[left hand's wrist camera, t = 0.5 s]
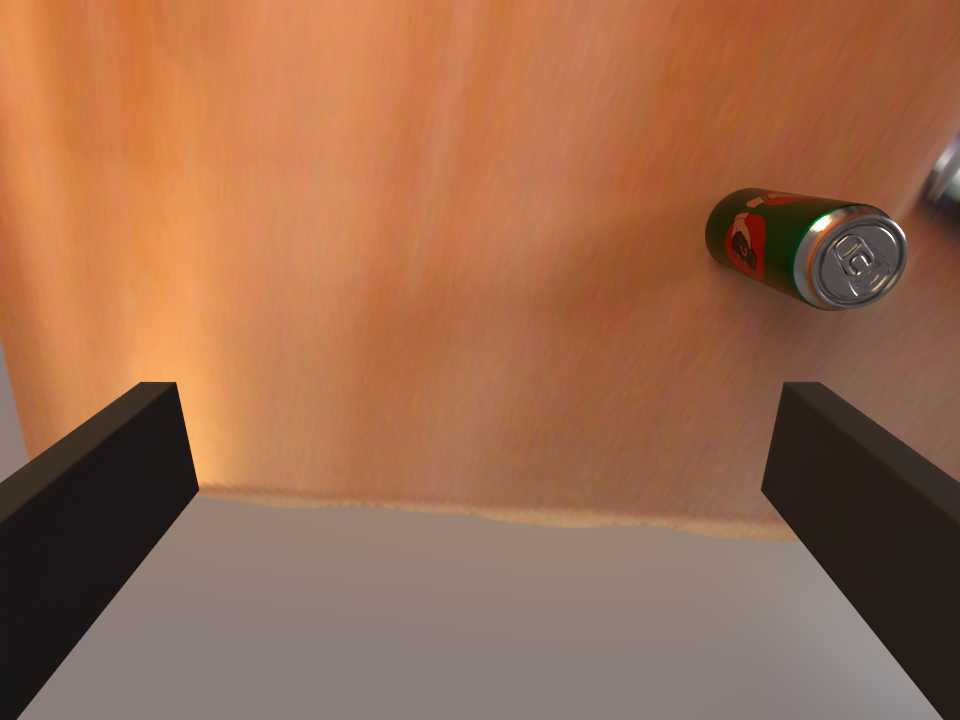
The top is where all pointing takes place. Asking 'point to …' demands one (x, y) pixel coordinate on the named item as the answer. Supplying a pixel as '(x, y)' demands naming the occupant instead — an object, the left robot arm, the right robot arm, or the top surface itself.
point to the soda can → (809, 246)
